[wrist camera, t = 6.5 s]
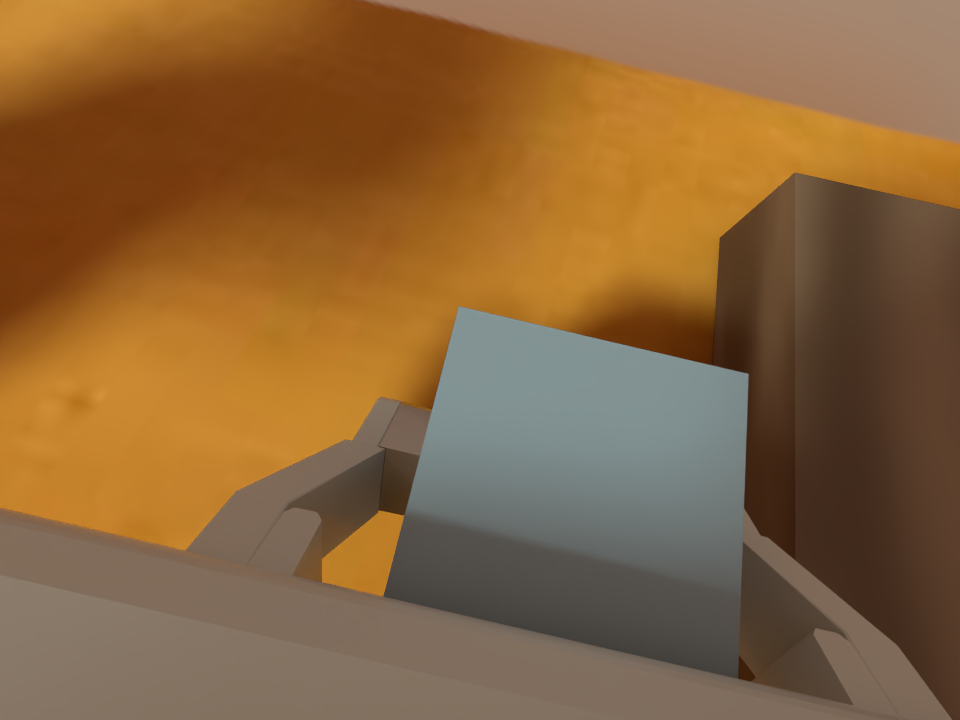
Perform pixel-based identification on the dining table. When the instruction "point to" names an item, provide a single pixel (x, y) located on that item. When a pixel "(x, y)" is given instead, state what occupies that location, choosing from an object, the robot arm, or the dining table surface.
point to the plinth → (854, 402)
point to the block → (581, 493)
